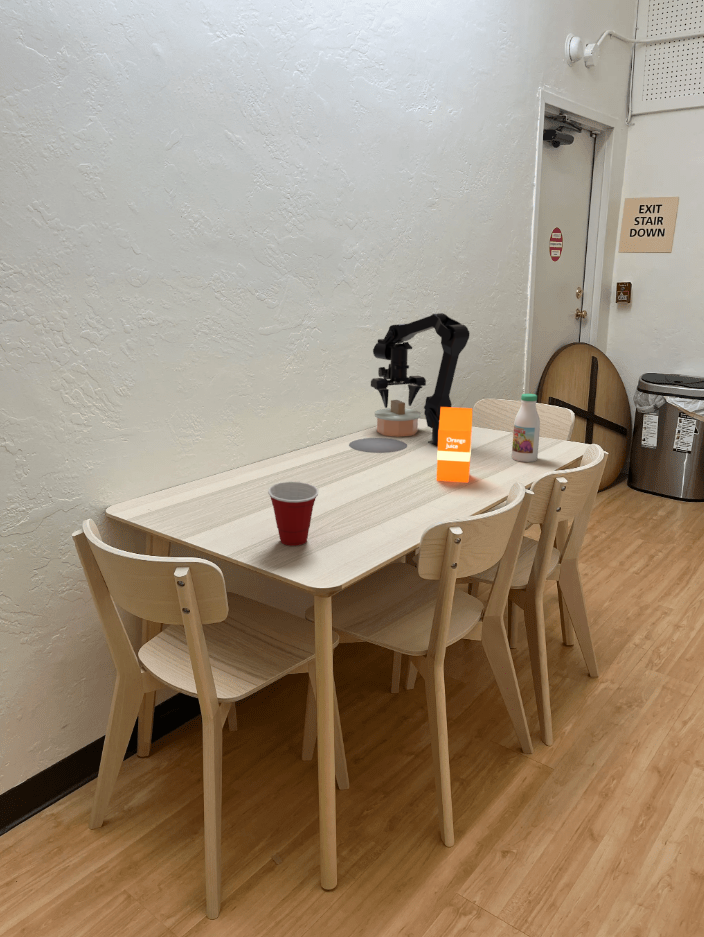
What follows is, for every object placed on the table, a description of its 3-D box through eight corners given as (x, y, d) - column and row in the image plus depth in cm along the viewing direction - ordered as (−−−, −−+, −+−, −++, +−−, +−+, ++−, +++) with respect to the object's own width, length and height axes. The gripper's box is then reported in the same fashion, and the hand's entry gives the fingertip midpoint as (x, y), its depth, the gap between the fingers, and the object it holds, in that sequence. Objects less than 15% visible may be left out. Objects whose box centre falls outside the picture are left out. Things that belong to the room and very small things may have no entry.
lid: (428, 418, 244) (429, 404, 243) (386, 422, 238) (387, 407, 237) (407, 409, 258) (407, 395, 257) (367, 412, 252) (367, 399, 251)
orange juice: (468, 482, 195) (472, 411, 190) (436, 480, 197) (438, 409, 191) (469, 474, 203) (473, 405, 197) (438, 472, 204) (441, 404, 199)
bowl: (422, 434, 247) (423, 418, 245) (388, 438, 242) (388, 421, 240) (405, 426, 258) (405, 410, 256) (372, 430, 253) (372, 413, 251)
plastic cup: (285, 555, 148) (284, 500, 144) (260, 539, 156) (258, 487, 153) (329, 543, 154) (328, 490, 150) (302, 528, 162) (301, 478, 159)
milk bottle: (521, 454, 223) (526, 391, 218) (542, 459, 218) (548, 395, 212) (506, 458, 219) (510, 394, 213) (527, 464, 213) (532, 398, 207)
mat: (417, 450, 227) (417, 449, 227) (363, 456, 220) (363, 455, 220) (391, 436, 244) (391, 435, 244) (340, 441, 237) (340, 440, 237)
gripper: (412, 357, 253) (411, 400, 258) (364, 360, 246) (363, 404, 251) (427, 361, 243) (425, 406, 248) (377, 364, 236) (377, 410, 241)
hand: (397, 406), depth 247 cm, fingers open, 9 cm apart
